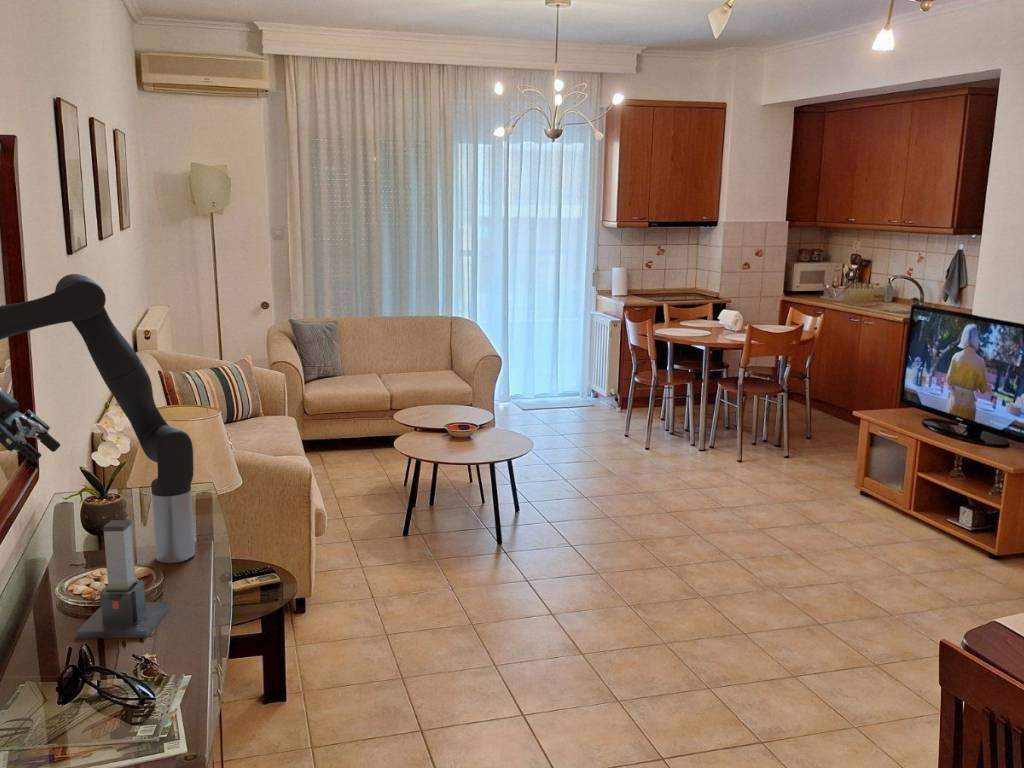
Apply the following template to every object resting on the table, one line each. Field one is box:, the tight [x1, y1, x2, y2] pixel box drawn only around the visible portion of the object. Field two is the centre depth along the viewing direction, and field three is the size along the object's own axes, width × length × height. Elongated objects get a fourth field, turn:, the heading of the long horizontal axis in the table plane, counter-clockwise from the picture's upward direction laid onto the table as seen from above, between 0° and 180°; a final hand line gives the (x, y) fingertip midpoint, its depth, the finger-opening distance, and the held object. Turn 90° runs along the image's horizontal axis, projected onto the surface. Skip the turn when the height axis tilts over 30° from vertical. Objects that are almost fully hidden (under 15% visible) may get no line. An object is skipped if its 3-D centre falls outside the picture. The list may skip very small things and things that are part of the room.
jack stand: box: [75, 579, 171, 640], centre depth 190 cm, size 14×14×8 cm
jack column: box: [103, 519, 136, 592], centre depth 188 cm, size 4×4×16 cm
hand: (47, 453), depth 192 cm, fingers open, 8 cm apart
